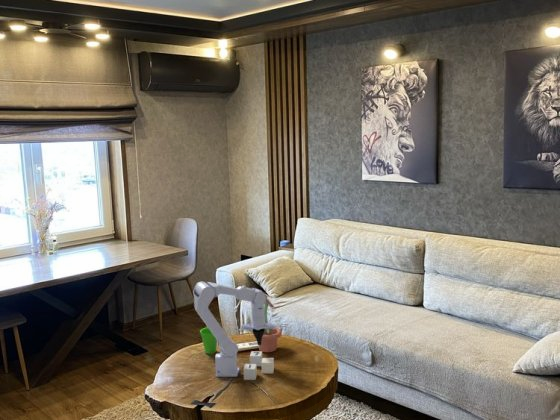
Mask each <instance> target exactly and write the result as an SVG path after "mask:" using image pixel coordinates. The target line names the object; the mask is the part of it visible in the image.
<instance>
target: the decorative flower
mask: <svg viewBox="0 0 560 420" xmlns="http://www.w3.org/2000/svg"><path fill="white" fill-rule="evenodd" d="M259 290H260V291H261V292H263V291H262V289H259ZM263 293H264V294H265V297H266V300H265V302H264V316H265V323H268V324H269V321H268V308H272V309H277V308H276V307H275V305H274V304H273V303H272V301H270V299H269V298H268V295H267V294H266V293H265V292H263ZM282 335H283V332H282V329H280V327H276V326H275V330H272V329H265V331H264V334H263V336H262V340H261V345H258V350H259V351H262V353H272V352H275V351H276V350H277V347H278V339H279V338H281V337H282ZM252 336H253V337H254V338H255V336H254V334H253V333H252Z"/></svg>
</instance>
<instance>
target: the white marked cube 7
mask: <svg viewBox="0 0 560 420" xmlns="http://www.w3.org/2000/svg"><path fill="white" fill-rule="evenodd" d="M262 358H263V352H262V351H260V350H259V351H255V350H254V351H252V350H251V352H250V355H249V364H256V365H257V367H261V362H262Z"/></svg>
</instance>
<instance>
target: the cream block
mask: <svg viewBox="0 0 560 420" xmlns="http://www.w3.org/2000/svg"><path fill="white" fill-rule="evenodd" d="M274 360H275V358H274V357H262V362H261V366H260V367H261V374H274V370H275V361H274Z"/></svg>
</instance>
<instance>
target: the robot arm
mask: <svg viewBox="0 0 560 420" xmlns="http://www.w3.org/2000/svg"><path fill="white" fill-rule="evenodd" d="M260 290H261V289H258V288H256V287H251V288H250V287H247V286H246V285H242V286H241V285H240V286H238V287H233V286H227V285H224V284H219V283H217V282H216V283H215V282H211V281H207V282H206V281H204V280H203V281H199V282H197V283H196V284H195V286H194V288H193V291H192V294H193V300H194V301H193V302H194V303H193V306H194V309H195V312H196V313H197V315H198V316H199V317H200V319H201V320H202V322H203V323H204V324H205V325H206V327H208V328H209V330H210V331H211V332H212V334H213V335H214V337H215V338H216V340H217V347H218V349H220V350H219V351H220V352H219V353H216V354H215V358H214V360H215V361H214V364H215V367H214V368H215V377H227V378H228V377H231V378H232V377H233V378H234V377H236V378H237V377H238V375H239V372H240V367H238V357H237V356H238V355H237V354H238V351H239V346H238V344H237V343H236V342H234V341H233V339H231V338H230V337H229V336H228V335H227V334H226V332H225V330H224V329H223V327H222V326H221V325H220V323H219V322H218V320H217V319H216V318H215V316H214V314H213V313H212V311H211V310H210V309H209V307H210V304H211V302H212V301H213V299H214V298H217V297H218V296H219V295H220V294H221V295H227V296H233V297H235V299H237V300H240V301H243V302H244V301H246V302H250V307H251V308H250V309H251V323H248V324H247V323H246V324H242V326H241V327H242V331H245V330H246V331H247V330H252V335H253V334H254V336H255V337H254V336H253V337H254V338H255V340H256V342H257V343H256V344H257V346H259V345H261V340H262V336H263V334H264V331H265V329H272V330H275V327H276V325H275V323H269V322H268V323H265V316H264V302H265V300H266V297H265V294H266V293H265V292H264V291H262V290H261V291H262V292H261V291H260ZM264 293H265V294H264Z"/></svg>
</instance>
